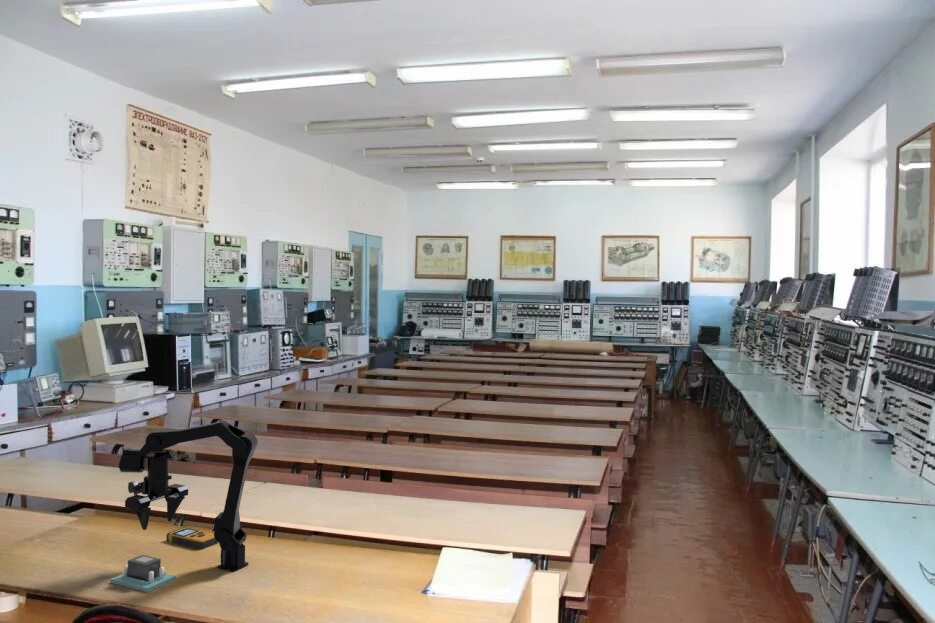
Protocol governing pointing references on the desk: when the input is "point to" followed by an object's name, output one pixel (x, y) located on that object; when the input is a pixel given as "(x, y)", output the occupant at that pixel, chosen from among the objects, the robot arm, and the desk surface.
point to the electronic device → (191, 538)
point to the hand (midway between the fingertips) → (157, 525)
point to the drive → (143, 567)
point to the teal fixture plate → (141, 584)
